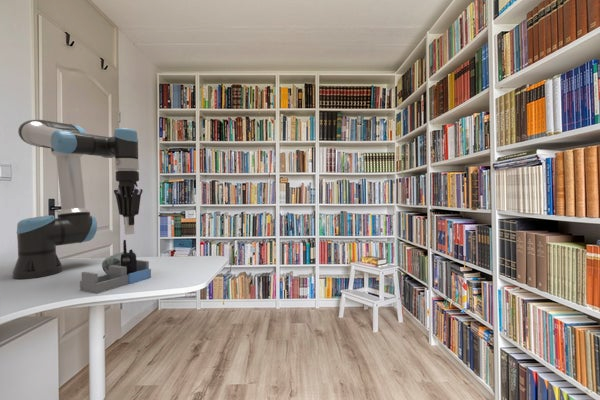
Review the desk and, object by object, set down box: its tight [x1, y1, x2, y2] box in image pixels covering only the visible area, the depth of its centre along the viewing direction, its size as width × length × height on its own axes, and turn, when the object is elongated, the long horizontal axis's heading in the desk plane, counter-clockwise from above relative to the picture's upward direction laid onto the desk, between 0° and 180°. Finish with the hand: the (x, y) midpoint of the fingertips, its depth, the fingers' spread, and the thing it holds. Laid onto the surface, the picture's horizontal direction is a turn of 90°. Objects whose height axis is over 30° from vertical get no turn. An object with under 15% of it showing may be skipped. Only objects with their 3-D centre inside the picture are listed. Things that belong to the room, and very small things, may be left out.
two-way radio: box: [121, 239, 138, 275], centre depth 112 cm, size 6×4×15 cm
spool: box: [101, 251, 129, 275], centre depth 122 cm, size 14×10×10 cm
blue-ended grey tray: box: [79, 259, 152, 294], centre depth 107 cm, size 10×20×6 cm, turn 155°
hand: (129, 234), depth 112 cm, fingers closed
